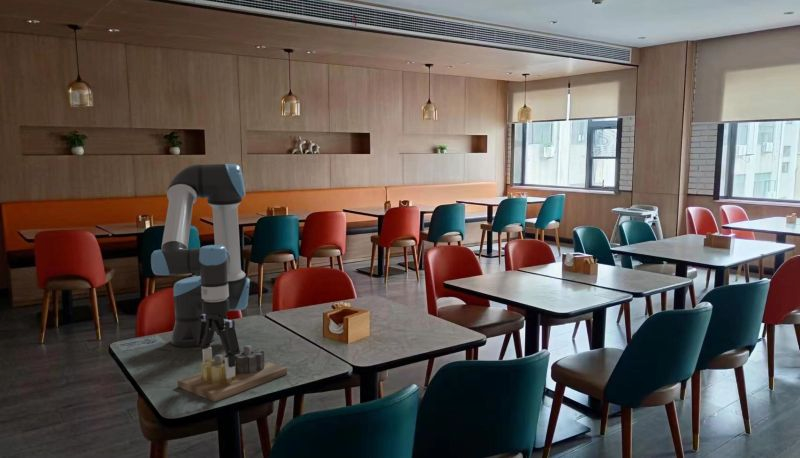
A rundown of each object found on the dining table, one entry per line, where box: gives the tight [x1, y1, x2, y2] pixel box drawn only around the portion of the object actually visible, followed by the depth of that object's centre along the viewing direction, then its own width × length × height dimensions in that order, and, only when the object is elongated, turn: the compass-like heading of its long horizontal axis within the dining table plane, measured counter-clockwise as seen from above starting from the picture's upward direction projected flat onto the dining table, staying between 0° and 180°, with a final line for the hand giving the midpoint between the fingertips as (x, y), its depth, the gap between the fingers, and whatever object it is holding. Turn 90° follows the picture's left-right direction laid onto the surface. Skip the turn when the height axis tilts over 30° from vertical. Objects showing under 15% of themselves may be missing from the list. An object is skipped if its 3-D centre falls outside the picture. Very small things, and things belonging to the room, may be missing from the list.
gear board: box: [177, 344, 288, 403], centre depth 180 cm, size 18×26×9 cm
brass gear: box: [200, 356, 237, 385], centre depth 176 cm, size 10×10×5 cm
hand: (219, 373), depth 176 cm, fingers open, 10 cm apart
